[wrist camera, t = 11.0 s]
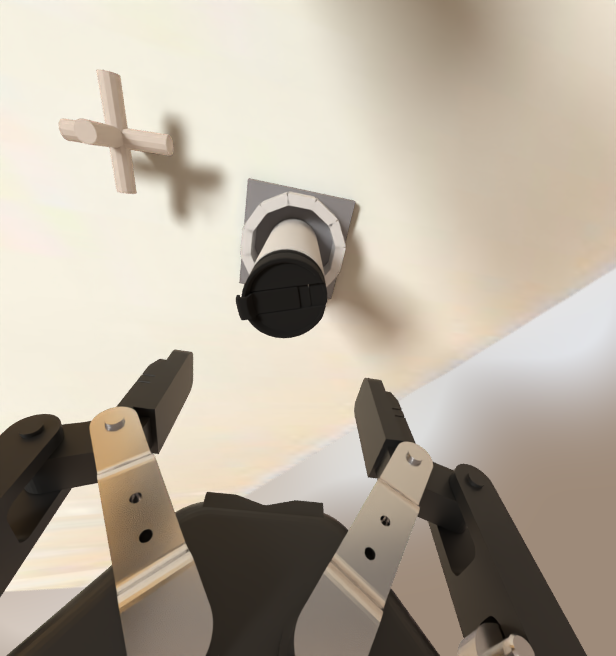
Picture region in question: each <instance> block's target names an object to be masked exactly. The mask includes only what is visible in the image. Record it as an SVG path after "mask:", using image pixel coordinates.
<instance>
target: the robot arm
mask: <svg viewBox="0 0 616 656" xmlns="http://www.w3.org/2000/svg"><path fill="white" fill-rule="evenodd" d="M192 383H193V353H192V352H188V351H181V350H173V352H172V353H171V354H170V356H169V357H168V359H167V360H164V359H159V360H157V361H155V362H154V363H152V364H150V365H149V366H148V367H147V369H146V370H145V371H144V372H143V375H141V376H140V378H139V379H138V380H137V382H136V383H135V384H134V385H133V386H132V388H131V389H130V390H129V392H128V393H127V394H126V395H125V397H124V398H123V399H122V400H121V402H120V403H119V404H118V405H117V407H114V408H110V409H107V410H105V411H103V412H101V413H99V414H98V415H97V416H96V417H95V418H94V419H93V420H92V421H88V422H81V423H72V424H64V425H62V424H61V421H60V419H59V418H58V417H56V416H54V415H50V414H39V415H34V416H30V417H27V418H24V419H22V420H20V421H18V422H16V423H14V424H13V425H11V426H10V427H9V428H7V429H6V430H5V431H4V432H3V433H2V434H1V435H0V597H1V595H2V594H3V592H4V591H5V589H6V588H7V586H8V585H9V583H10V582H11V580H12V579H13V577H14V575H15V574H16V572H17V571H18V569H19V568H20V566H21V565H22V563H23V562H24V560H25V559H26V557H27V556H28V554H29V553H30V551H31V550H32V548H33V546H34V545H35V543H36V542H37V540H38V539H39V537H40V536H41V534H42V533H43V531H44V530H45V528H46V527H47V525H48V524H49V522H50V521H51V519H52V517H53V516H54V514H55V513H56V511H57V510H58V508H59V507H60V505H61V504H62V502H63V501H64V499H65V498H66V496H67V495H68V493H69V492H70V490H71V488H74V487H79V486H84V485H89V484H94V483H98V486H99V492H100V497H101V503H102V509H103V515H104V520H105V526H106V532H107V538H108V543H109V549H110V555H111V561H112V566H110V567H109V568H108V569H107V570H106V571H105V572H103V573H102V574H101V575H100V576H99V577H98V578H96V579H95V580H94V581H93V582H92V583H91V584H89V585H88V586H87V587H86V588H85V589H84V590H83V591H81V592H80V593H79V594H78V595H77V596H75V597H74V598H73V599H72V600H71V601H70V602H68V603H67V604H66V605H65V606H64V607H63V608H61V609H60V610H59V611H58V612H57V613H56V614H54V615H53V616H52V617H51V618H50V619H49V620H47V621H46V622H45V623H44V624H43V625H42V626H40V627H39V628H38V629H37V630H36V631H35V632H33V633H32V634H31V635H30V636H29V637H28V638H27V639H25V640H24V641H23V642H22V643H21V644H19V645H18V646H17V647H16V648H15V649H14V650H13V651H11V652H10V653H9V654H8V655H7V656H440V655H439V654H438V653H437V651H436V650H435V648H434V647H433V646H432V644H431V643H430V641H429V640H428V639H427V637H426V636H425V634H424V633H423V632H422V630H421V629H420V627H419V626H418V625H417V623H416V622H415V621H414V619H413V618H412V616H411V615H410V614H409V612H408V611H407V610H406V608H405V607H404V606H403V604H402V603H401V601H400V600H399V599H398V597H397V596H396V594H395V593H394V592H393V590H392V589H391V586H392V583H393V580H394V578H395V575H396V572H397V569H398V567H399V564H400V561H401V559H402V556H403V553H404V550H405V548H406V545H407V543H408V540H409V537H410V534H411V532H412V529H413V526H414V524H415V521H416V518H417V516H418V517H420V518H422V519H424V520H427V521H428V522H429V526H430V529H431V532H432V536H433V539H434V542H435V545H436V549H437V552H438V555H439V559H440V562H441V565H442V568H443V572H444V575H445V578H446V581H447V585H448V588H449V591H450V595H451V598H452V601H453V604H454V607H455V611H456V614H457V618H458V621H459V624H460V627H461V631H462V634H463V637H464V639H463V640H462V641H461V642H460V644H459V647H458V656H587V655H586V653H585V651H584V649H583V648H582V646H581V644H580V642H579V640H578V638H577V637H576V635H575V633H574V631H573V629H572V627H571V626H570V624H569V622H568V620H567V618H566V617H565V615H564V613H563V611H562V610H561V608H560V606H559V604H558V602H557V600H556V598H555V597H554V595H553V593H552V591H551V589H550V588H549V586H548V584H547V582H546V580H545V578H544V577H543V575H542V573H541V571H540V569H539V568H538V566H537V564H536V562H535V560H534V559H533V557H532V555H531V553H530V551H529V549H528V548H527V546H526V544H525V542H524V540H523V538H522V537H521V535H520V533H519V531H518V530H517V528H516V526H515V524H514V522H513V520H512V518H511V517H510V515H509V513H508V511H507V510H506V508H505V506H504V504H503V502H502V501H501V499H500V497H499V495H498V493H497V491H496V489H495V488H494V486H493V484H492V482H491V481H490V480H489V478H488V477H487V476H486V475H485V474H484V473H483V472H481V471H480V470H479V469H477V468H475V467H473V466H471V465H468V464H460V465H458V466H457V467H456V468H455V470H451V469H449V468H446V467H444V466H441V465H439V464H436V463H434V462H433V461H432V459H431V457H430V455H429V454H428V453H427V451H426V450H425V449H423V448H422V447H420V446H419V445H417V444H416V443H415V441H414V438H413V436H412V434H411V431H410V429H409V426H408V424H407V422H406V419H405V418H404V414H403V412H402V411H401V407H400V405H399V402H398V400H397V399H396V398H395V397H394V396H393V394H392V393H391V392H386V391H385V388H384V386H383V383H382V381H381V380H377V379H370V378H365V379H364V380H363V382H362V385H361V388H360V391H359V393H358V396H357V399H356V402H355V408H354V413H355V419H356V423H357V428H358V433H359V438H360V442H361V447H362V452H363V456H364V461H365V466H366V470H367V475H368V477H370V478H377V482H376V484H375V486H374V487H373V489H372V490H371V492H370V494H369V496H368V497H367V499H366V501H365V503H364V504H363V506H362V508H361V510H360V511H359V513H358V515H357V517H356V518H355V520H354V522H353V524H352V525H351V527H350V529H349V531H348V530H347V528H346V527H345V526H343V525H342V524H341V523H340V522H339V521H337V520H336V519H334V518H333V517H331V516H329V515H327V514H325V513H323V503H317V502H307V501H289V502H284V503H278V504H272V505H262V504H259V503H257V502H254V501H251V500H249V499H246V498H243V497H241V496H238V495H234V494H223V493H213V492H207V493H206V496H205V499H204V502H200V503H196V504H192V505H189V506H187V507H185V508H182V509H181V510H179V511H177V512H174V509H173V506H172V503H171V500H170V497H169V495H168V492H167V489H166V486H165V483H164V480H163V478H162V475H161V472H160V469H159V466H158V463H157V461H156V458H155V455H154V454H153V453H155V454H159V452H160V450H161V448H162V446H163V444H164V442H165V440H166V438H167V436H168V434H169V433H170V431H171V429H172V427H173V425H174V423H175V421H176V419H177V417H178V415H179V413H180V411H181V409H182V407H183V405H184V403H185V401H186V399H187V397H188V395H189V393H190V391H191V388H192Z"/></svg>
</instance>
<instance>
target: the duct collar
mask: <svg viewBox="0 0 616 656" xmlns="http://www.w3.org/2000/svg"><path fill="white" fill-rule="evenodd" d="M354 206H355V201H353V200H349V199H344V198H339V197H334V196H330V195H325V194H320V193H316V192H311V191H306V190H302V189H297V188H292V187H287V186H283V185H278V184H273V183H269V182H264V181H259V180H254V179H250V178H249V179H248V185H247V197H246V209H245V221H244V226H243V228H242V240H241V253H240V255H241V270H240V282H239V283H242V284H245V282H246V280H247V278H248V276H249V275H250V271H251V269H252V267H253V265H254V264H255V262H256V260H257V258H258V256H259V254H260V252H261V250H262V249H263V247H264V245H265V243H266V241H267V239H268V237H269V235H270V234H271V232H272V230H273V228H274V227H275V226H276V225H277V224H278V223H279V222H281V221H283V220H285V219H289V218H297V219H301V220H303V221H305V222H306V223H308V224H309V225H310V226H311V227H312V229H313V230H314V232H315V234H316V237H317V242H318V247H319V251H320V256H321V261H322V265H323V270H324V275H325V280H326V288H327V298H328V299H331V298H332V294H333V290H334V286H335V282H336V278H337V276H338V275H339V273H340V269H341V265H342V261H343V257H344V254H345V250H346V248H345V247H346V245H345V242H346V238H347V234H348V230H349V226H350V222H351V218H352V214H353V210H354Z"/></svg>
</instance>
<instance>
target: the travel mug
mask: <svg viewBox="0 0 616 656" xmlns="http://www.w3.org/2000/svg"><path fill="white" fill-rule="evenodd" d="M326 303H327V288H326V280H325V275H324V270H323V265H322V261H321V256H320V251H319V247H318V242H317V237H316V234H315V232H314V230H313V229H312V227H311V226H310V225H309V224H308V223H306V222H305V221H303V220H301V219H297V218H289V219H285V220H283V221H281V222H279V223H278V224H277V225H276V226H275V227H274V228H273V230H272V232H271V234H270V235H269V237H268V239H267V241H266V243H265V245H264V247H263V249H262V250H261V252H260V254H259V256H258V258H257V260H256V262H255V264H254V265H253V267H252V269H251V271H250V275H249V276H248V278H247V280H246V282H245V284H244V288H243V291H242V297H240V295H237V297H236V304H237V309H238V312H239V316H240V318H241V320H249V322H250V323H251V324H252V325H253V326H254V327H255V328H256V329H258V330H259V331H260V332H262V333H264V334H266V335H269V336H272V337H276V338H292V337H296V336H299V335H302V334H304V333H306V332H308V331H309V330H311V329H312V328H313V327H314V326H315V325H316V324H318V322H319V321H320V320H321V318H322V317H323V314H324V310H325V307H326V306H325V305H326Z"/></svg>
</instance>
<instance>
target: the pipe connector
mask: <svg viewBox="0 0 616 656" xmlns="http://www.w3.org/2000/svg"><path fill="white" fill-rule="evenodd" d="M96 71H97V77H98V83H99V89H100V94H101V100H102V106H103V112H104V118H105V124H103V123H99V122H95V121H91V120H86V119H77V120H70V119H60V121H59V130H60V133H61V135H62V136H63V137H64V139H66V140H68V141H74V142H81V143H85V144H90V145H98V146H106V147H109V148H110V154H111V160H112V165H113V171H114V177H115V183H116V189H117V192H120V193H127V194H136V193H137V192H136V185H135V178H134V171H133V164H132V157H131V150H135V151H142V152H148V153H155V154H162V155H168V156H171V155H173V141H172V138H171V136H170V135H167V134H161V133H154V132H148V131H141V130H135V129H128V128H127V121H126V114H125V106H124V99H123V92H122V85H121V78H120V75H118V74H116V73H113V72H109V71H105V70H96Z"/></svg>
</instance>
